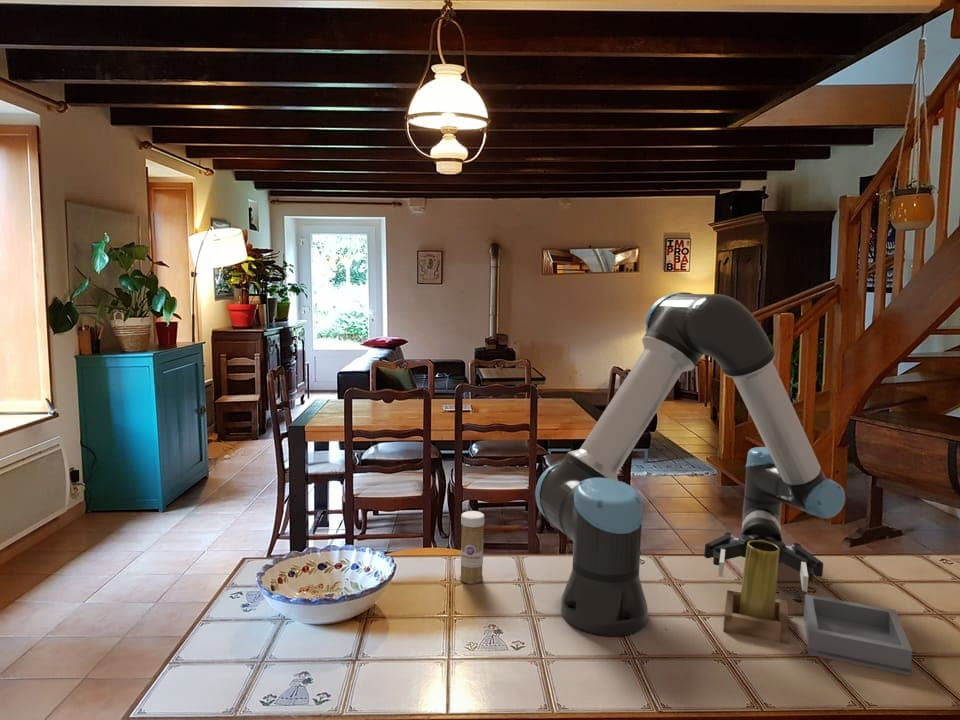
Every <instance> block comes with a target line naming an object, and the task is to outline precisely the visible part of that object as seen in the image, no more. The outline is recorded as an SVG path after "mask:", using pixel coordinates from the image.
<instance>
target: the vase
mask: <svg viewBox="0 0 960 720" xmlns="http://www.w3.org/2000/svg"><path fill="white" fill-rule="evenodd" d="M779 552H780V548H779V547H778V546H777V545H776V544H774V543H771V542H768V541H763V540H751V541H749V542H748V543H747V549H746V557H745V559H744V567H743V574H742V583H741V590H740V593H741V598H740V609H739V611H738V614H741V615H746V616H751V617H756V618H761V619H767V620H772V621H775V618H774V610H775V599H777V598H776V597H777V596H776V595H777V585H778V584H777V583H778V572H779V571H778V570H779V564H780V563H779Z"/></svg>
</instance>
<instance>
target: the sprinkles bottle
mask: <svg viewBox="0 0 960 720" xmlns="http://www.w3.org/2000/svg"><path fill="white" fill-rule="evenodd" d="M460 515H461V516H460V518H461V519H460V525H461V545H460V546H461V548H460V577H459V579H460V580H461V582H463V583H465V584H470V585H473V584H478V583H480V582H482V581H483V577H484V576H483V565H484V564H483V563H484V526H485V514H484V513H482V512H481V511H478V510H469V511H468V510H467V511H465V512H462V514H460Z"/></svg>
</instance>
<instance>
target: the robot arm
mask: <svg viewBox="0 0 960 720" xmlns="http://www.w3.org/2000/svg"><path fill="white" fill-rule="evenodd" d="M645 324H646V327H645V334H644V335H643V337H642V338H641V339H642V340H641V341H642V345H643V351H642V353H641V354H640V356H639V357H638V359H637V360H636V362H635V364H634V365H633V367H632V368H631V370H630V371H629V373H628V374H627V376H626V377H625V379H624V380H623V382H622V384H621V385H620V386H619V387H618V389H617V391H616V393H615V394H614V396H613V397H612V399H611V400H610V402H609V403H608V404H607V407H606V408H605V409H604V411H602V414H601V416H600V417H599V419H598V421H597V422H595V425H594V426H593V428H592V429H591V431H590V433H589V434H588V436H587V437H586V439H585V440H584V442H583V443H582V445H581V446H580V448H579V449H576V450H571V451H568V452H567V453H566V455H565V457H564V458H563V460H562V461H561V463H557V464H554V465H551V466H549V467H548V468H546V470H544V471H543V472H542V474H541V475H540V476H539V478H538V480H537V484H536V486H535V501H536V505H537V508H538V510H539V512H540V513H541V515H543V517H544V518H545V520H546V521H547V522H548V523H549V524H551V525H552V526H554V527H555V528H557V529H558V530H560V531H561V532H562V533H563V534H564V535H566V537H568V538H569V539H570V540H571V541H572V542H573V543H572V544H573V545H572V569H571V572H570V575H569V578H568V579H567V582H566V584H565V585H566V586H565V589H564V591H563V593H562V595H561V600H560V601H561V602H560V603H561V606H560V612H561V616H562V617H563V619H564V620H565V621H566V622H567V623H568V624H570V625H571V626H572V627H574V628H576V629H577V630H581V631H584V632H586V633H589V634H594V635H598V636H605V637H621V636H622V637H623V636H626V635H628V636H629V635H632V634H636V633H638V632H639V631H641V630H642V629H644V628H645V626H646V625H647V622H648V613H649V609H648V608H649V607H648V604H647V600H646V597H645V593H644V589H643V586H642V583H641V579H640V563H641V548H642V547H641V546H642V545H641V544H642V524H643V520H644V513H643V500H642V497H641V495H640V493H639V491H638V490H636V489H635V488H634V487H633V486H631V485H630V484H628V483H626V482H624V481H621V480H619V478H618V473H619V471H620V470H621V468H622V467H623V465H624V464H625V462H626V461H627V459H628V457H629V455H630V454H631V453H632V451H633V450H634V448H635V446H636V445H637V443H638V442H639V440H640V438H641V437H642V436H643V434H644V432H645V431H646V429H647V427H649V424H650V423H651V421H652V420H653V418H654V416H655V415H656V414H657V412H658V410H660V407H661V406H662V404H664V403H663V402H664V401H665V400H666V398H667V396H668V395H669V393H670V392H671V390H672V389H673V387H674V386H675V384H676V382H677V381H678V379H679V377H680V376H681V374H682V373H685V372H691V371H693V370H694V369H695V368H696V366H697V364H698V363H699V361H700V360H701V359H702V357H703V355H704V356H708V357H710V358H712V359H713V360H714V361H716V363H718V365H719V367H720V368H721V370H722V372H723V374H724V375H725V376H726V377H727V378H731V379H732V380H733V383H734V384H735V386H736V388H737V391H738V392H739V394H740V397H741V398H742V401H743V403H744V404H745V407H746V409H747V411H748V413H749V415H750V418H751V419H752V421H753V423H754V425H755V427H756V430H757V431H758V434H759V436H760V437H761V440H762V442H763V444H764V445H765V446H758V447H757V446H756V447H753V448H750V449H749V450H748V451H747V457H746V465H745V476H744V477H745V480H744V482H745V483H744V495H743V508H742V514H741V517H742V524H741V535H740V537H734V536H733V534H732V533H731V532H728V531H727V532H725V533H724V534H723V536H720V537H718V538H716V539H713V540H711V541H709V542H707V543H705V544H704V554H703V555H704V558H706V559H711V558H712V559H713V561H712V563H713V565H715V566H718V575H717V577H720V578H723V577H724V573H725V572H724V571H725V570H724V569H725V562H726V561H725V560H731V559H734V558H739V557H742V558H746V549H747V543H748V542H749V541H751V540H763V541H768V542H771V543H774V544H776V545H777V546H778V547H779V548H780V552H779V563H778V564H784V565H786V566H787V567H790V568H791V569H792V570H794V571H797V572H798V573H799V578H800V584H801V591H802V592H805V593H808V589H809V588H808V587H809V586H808V585H809V582H813V581H814V579H815V577H814V576H816V577H818V578H822V577H823V573H824V572H823V571H824V562H823V561H821V560H820V559H818V558H817V557H816V556H814V555H813V554H811V552H809V551H807V550H806V549H804V548H803V547H802V545H801V544H800V543H798V542H793V544H791V545H786V543H784V541H783V537H782V536H783V535H782V528H781V513H782V503H785V504H787V505H789V506H791V507H794V508H796V509H798V510H801V511H802V512H805V513H807V514H808V515H811V516H812V515H813V516H815V517H819V518H821V519H831V518H833V517H836V515H838V514H839V513H840V512H841V511H842V510H843V508H844V505H845V502H846V493H845V489H844V488H843V487H842V486H841V484H840V483H838V482H836V481H834V480H833V479H832V478H827V477H826V476H825V474H824V471H823V469H822V468H821V465H820V463H819V461H818V458H817V456H816V454H815V452H814V449H813V447H812V445H811V443H810V441H809V439H808V436H807V434H806V432H805V430H804V428H803V425H802V423H801V422H800V419H799V416H798V414H797V412H796V410H795V408H794V406H793V404H792V401H791V398H790V396H789V395H788V393H787V390H786V388H785V385H784V383H783V381H782V379H781V377H780V375H779V373H778V371H777V368H776V366H775V364H774V362H773V361H774V360H775V358H776V352H775V350H774V348H773V345H772V344H771V342H770V340H769V337H768V336H767V333H766V332H765V330H764V328H763V327H762V326H761V324H760V323H759V321H758V320H757V319H756V317H755V316H754V315H753V314H752V312H751V311H750V310H749V309H748V308H747V307H746V306H745V305H743V304H742V303H741V302H740V301H738V300H736V299H735V298H733V297H731V296H728V295H726V294H725V295H724V294H721V293H710V294H709V293H708V294H705V293H702V294H701V293H692V292H687V291H686V292H681V291H680V292H676V293H670V294H667V295H664V296H662V297H660V298H659V299H657V300H656V301H655V302H654V303H653V304H652V306H651V307H650V309H649V310H648V312H647V315H646V318H645Z"/></svg>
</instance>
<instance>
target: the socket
mask: <svg viewBox="0 0 960 720" xmlns="http://www.w3.org/2000/svg"><path fill="white" fill-rule="evenodd" d="M740 598H741V591H740V592H739V591H735V590H734V591H733V590H728V589H727V590H726V599H725V608H724V615H723V616H724V618H723V632H726V633H731V634H736V635H740V636H744V637H745V636H746V637H750V638H753V639H760V640H765V641H769V642H775V643H780V644H785V645H788V642H789V630H790V625H789V613H788V612H789V611H788V601H787V600H784V599H779V598H776V599H775V610H774V619H778V621H775V620H774V621H772V620H767V619H761V618H756V617H751V616H746V615H741V614H739V613H737V612H739V609H740ZM733 611H737V612H736V613H734V612H733Z"/></svg>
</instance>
